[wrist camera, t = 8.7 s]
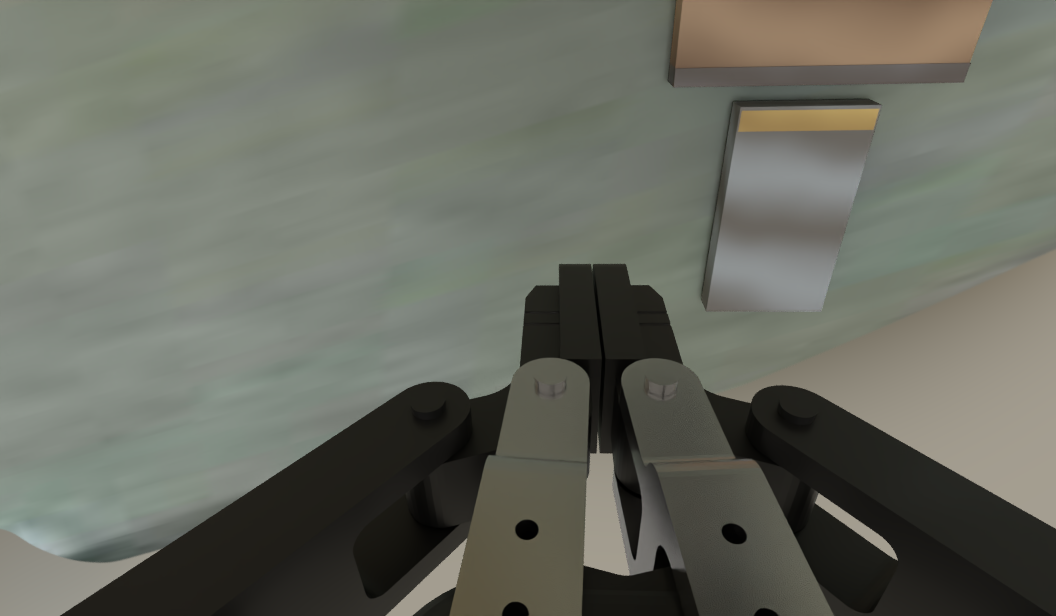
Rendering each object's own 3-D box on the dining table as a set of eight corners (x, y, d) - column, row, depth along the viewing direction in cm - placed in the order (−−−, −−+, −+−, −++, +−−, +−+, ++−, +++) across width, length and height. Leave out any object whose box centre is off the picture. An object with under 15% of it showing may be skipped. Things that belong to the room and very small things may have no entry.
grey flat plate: (733, 101, 34) (740, 107, 33) (869, 99, 34) (882, 105, 32) (701, 299, 41) (706, 311, 40) (812, 299, 41) (821, 311, 40)
